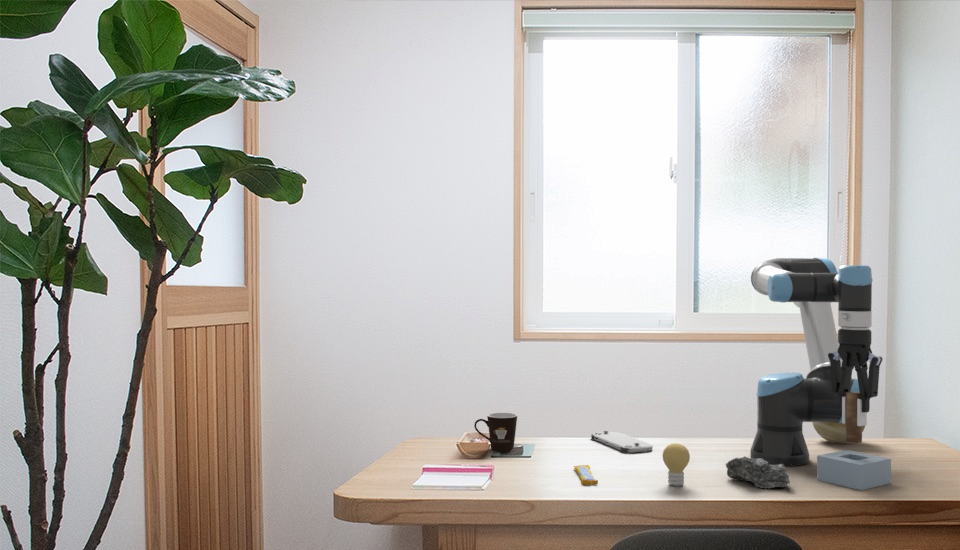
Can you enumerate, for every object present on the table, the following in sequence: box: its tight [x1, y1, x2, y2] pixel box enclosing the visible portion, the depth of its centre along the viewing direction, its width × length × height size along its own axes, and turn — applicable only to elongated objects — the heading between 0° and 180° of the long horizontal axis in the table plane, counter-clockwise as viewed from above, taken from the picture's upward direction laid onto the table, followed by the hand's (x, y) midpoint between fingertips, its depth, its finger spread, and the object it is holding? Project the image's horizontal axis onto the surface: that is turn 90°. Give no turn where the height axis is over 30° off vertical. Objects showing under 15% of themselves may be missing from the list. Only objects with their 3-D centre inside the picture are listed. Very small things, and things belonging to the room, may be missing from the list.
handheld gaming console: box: [591, 430, 653, 454], centre depth 261 cm, size 23×3×10 cm
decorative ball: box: [811, 422, 866, 445], centre depth 262 cm, size 15×15×15 cm
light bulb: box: [662, 442, 691, 487], centre depth 214 cm, size 6×6×10 cm
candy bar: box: [573, 464, 599, 486], centre depth 222 cm, size 17×4×2 cm, turn 1°
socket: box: [816, 449, 892, 491], centre depth 218 cm, size 12×12×6 cm
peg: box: [846, 392, 863, 444], centre depth 217 cm, size 4×4×12 cm
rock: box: [725, 455, 791, 490], centre depth 215 cm, size 13×13×10 cm
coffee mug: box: [473, 412, 518, 454], centre depth 254 cm, size 12×9×10 cm
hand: (854, 423), depth 217 cm, fingers closed on peg, 3 cm apart
